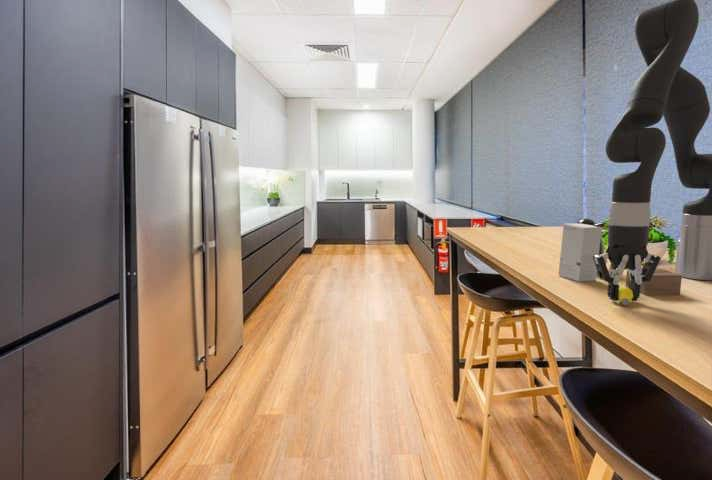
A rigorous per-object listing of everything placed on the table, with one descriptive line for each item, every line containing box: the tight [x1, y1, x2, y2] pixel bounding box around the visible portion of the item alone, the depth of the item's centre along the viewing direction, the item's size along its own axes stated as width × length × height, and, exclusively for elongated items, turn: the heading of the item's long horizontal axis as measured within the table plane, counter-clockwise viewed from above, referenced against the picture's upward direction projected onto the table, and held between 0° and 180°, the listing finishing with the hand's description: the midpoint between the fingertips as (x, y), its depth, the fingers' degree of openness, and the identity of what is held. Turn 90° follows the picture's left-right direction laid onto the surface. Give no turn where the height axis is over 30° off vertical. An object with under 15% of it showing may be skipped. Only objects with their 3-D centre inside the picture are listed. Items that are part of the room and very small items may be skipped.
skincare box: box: [558, 223, 603, 283], centre depth 119 cm, size 8×6×15 cm
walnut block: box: [625, 267, 683, 296], centre depth 106 cm, size 8×8×5 cm
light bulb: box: [618, 286, 634, 307], centre depth 96 cm, size 3×6×4 cm, turn 155°
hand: (622, 299), depth 97 cm, fingers closed on light bulb, 3 cm apart
